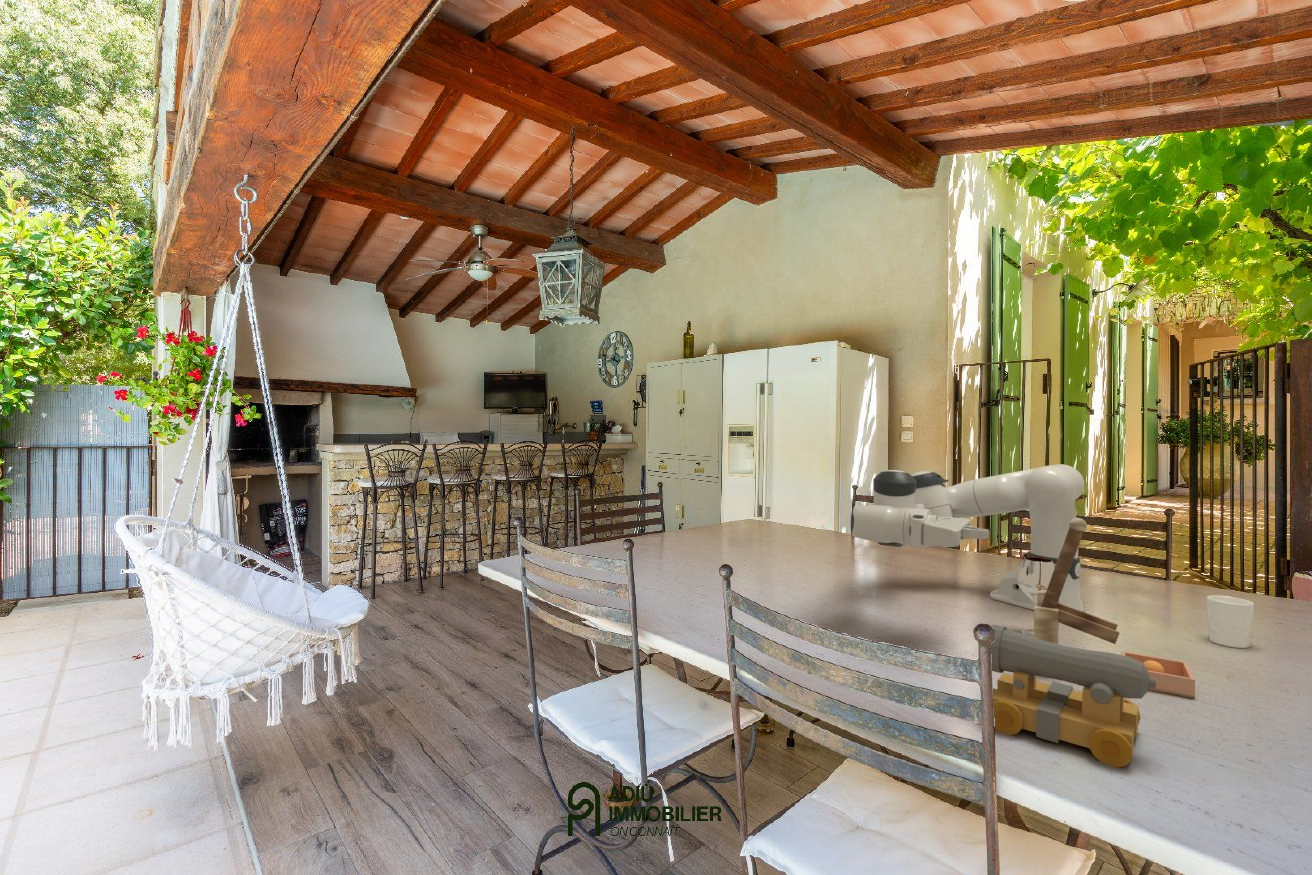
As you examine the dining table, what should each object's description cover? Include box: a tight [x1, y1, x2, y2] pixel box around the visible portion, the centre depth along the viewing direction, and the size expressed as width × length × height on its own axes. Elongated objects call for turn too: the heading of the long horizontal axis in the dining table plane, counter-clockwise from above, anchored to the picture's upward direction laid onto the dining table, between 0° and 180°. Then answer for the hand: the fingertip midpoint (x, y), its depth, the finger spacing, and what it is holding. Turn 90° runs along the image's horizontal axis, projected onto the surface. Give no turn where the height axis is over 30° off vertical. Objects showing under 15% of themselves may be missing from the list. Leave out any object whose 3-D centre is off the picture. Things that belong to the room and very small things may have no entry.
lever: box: [1041, 517, 1120, 645], centre depth 124 cm, size 14×12×22 cm
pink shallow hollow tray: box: [1120, 650, 1196, 700], centre depth 119 cm, size 10×10×4 cm
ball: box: [1144, 660, 1165, 673], centre depth 119 cm, size 4×4×4 cm
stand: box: [1033, 591, 1060, 644], centre depth 129 cm, size 9×17×13 cm, turn 146°
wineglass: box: [1018, 557, 1055, 638], centre depth 145 cm, size 8×8×18 cm
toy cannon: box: [990, 624, 1156, 769], centre depth 99 cm, size 16×22×15 cm
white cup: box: [1206, 595, 1255, 649], centre depth 141 cm, size 8×8×10 cm
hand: (988, 534), depth 134 cm, fingers closed
